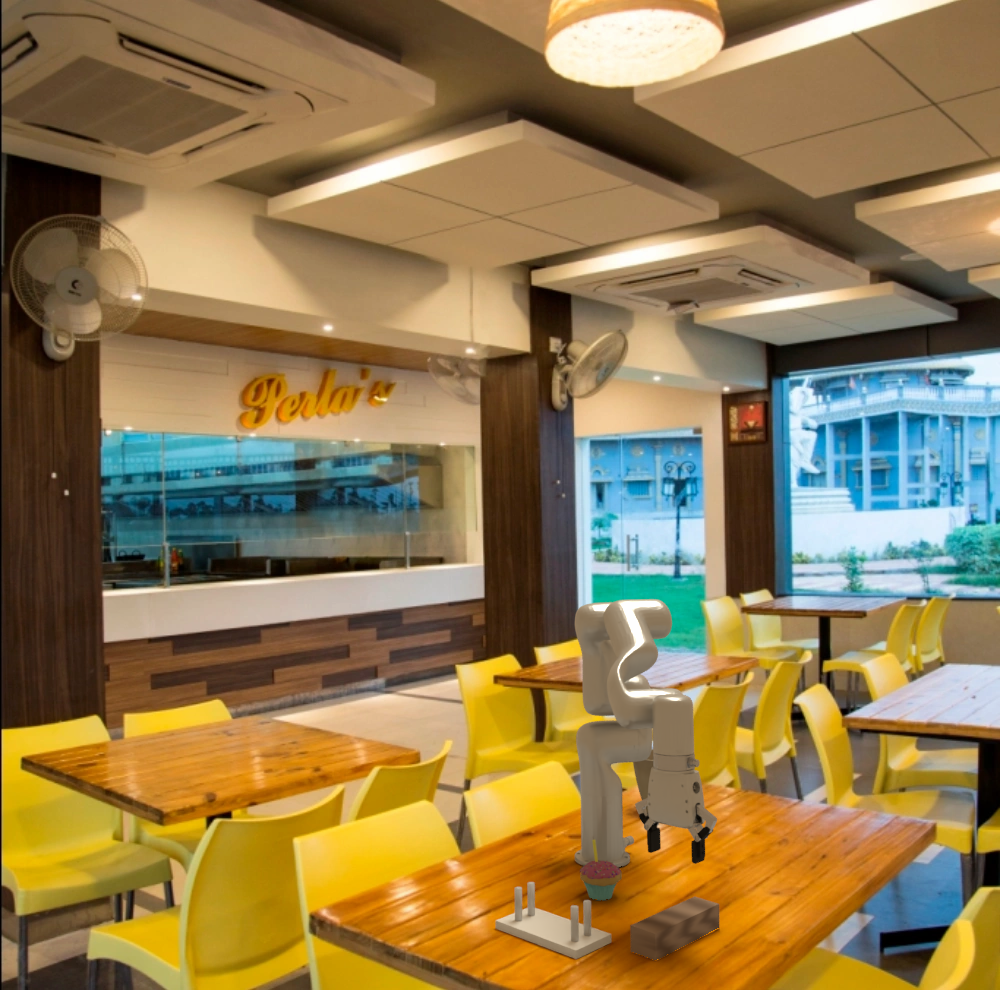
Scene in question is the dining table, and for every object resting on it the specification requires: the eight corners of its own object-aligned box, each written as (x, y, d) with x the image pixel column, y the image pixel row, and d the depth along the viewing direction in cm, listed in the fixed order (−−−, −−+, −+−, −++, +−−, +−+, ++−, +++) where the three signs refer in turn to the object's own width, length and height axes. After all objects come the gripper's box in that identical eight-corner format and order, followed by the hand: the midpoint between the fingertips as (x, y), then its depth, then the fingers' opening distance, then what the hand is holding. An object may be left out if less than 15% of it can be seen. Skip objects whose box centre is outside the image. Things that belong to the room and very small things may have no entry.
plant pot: (700, 814, 266) (699, 754, 266) (668, 826, 255) (667, 763, 256) (653, 804, 276) (652, 746, 277) (621, 815, 265) (620, 755, 266)
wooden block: (695, 922, 192) (694, 896, 193) (719, 930, 189) (719, 903, 189) (630, 953, 178) (630, 925, 179) (655, 962, 175) (655, 933, 175)
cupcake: (571, 896, 206) (571, 837, 207) (598, 886, 212) (597, 829, 213) (603, 907, 200) (603, 846, 200) (630, 896, 206) (629, 837, 206)
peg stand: (495, 928, 189) (495, 888, 190) (531, 913, 197) (530, 875, 197) (576, 959, 176) (575, 915, 176) (611, 942, 183) (610, 900, 183)
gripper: (725, 765, 181) (727, 861, 180) (647, 753, 193) (649, 843, 192) (702, 772, 176) (704, 871, 175) (624, 759, 188) (625, 851, 187)
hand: (675, 856), depth 184 cm, fingers open, 9 cm apart
